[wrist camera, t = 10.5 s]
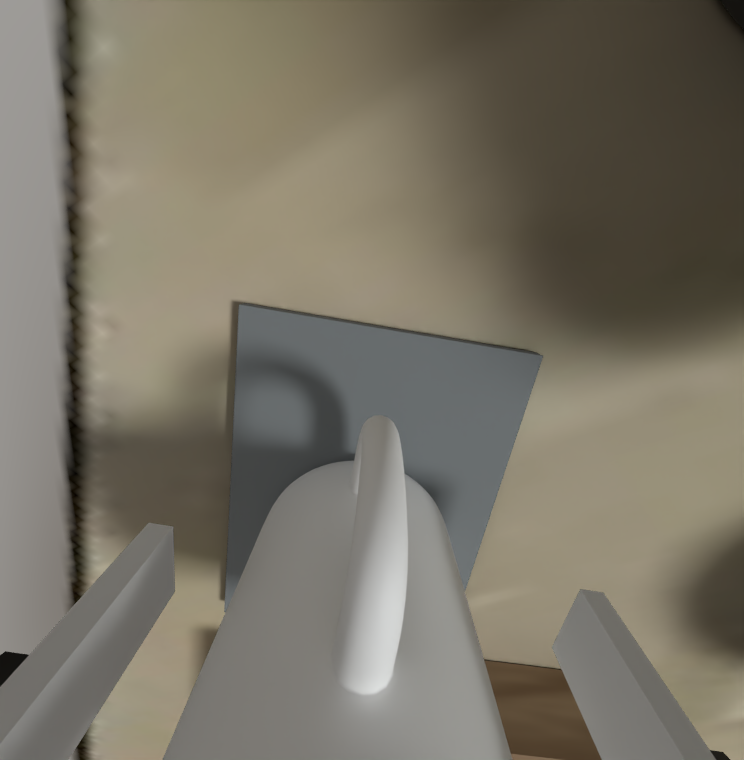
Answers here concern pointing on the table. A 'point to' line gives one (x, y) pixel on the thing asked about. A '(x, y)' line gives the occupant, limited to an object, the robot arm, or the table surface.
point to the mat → (366, 399)
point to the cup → (347, 630)
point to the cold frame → (539, 713)
